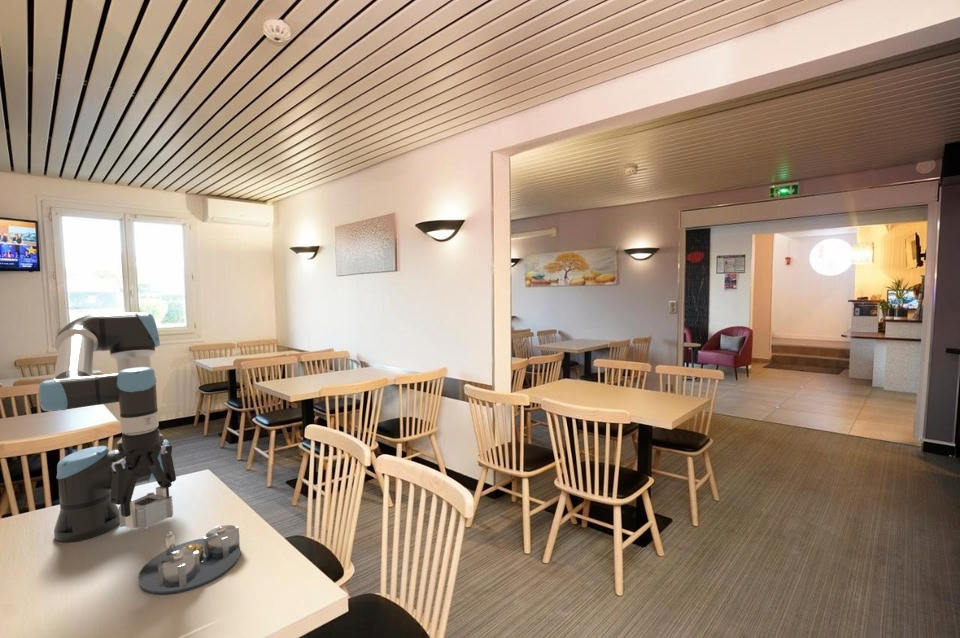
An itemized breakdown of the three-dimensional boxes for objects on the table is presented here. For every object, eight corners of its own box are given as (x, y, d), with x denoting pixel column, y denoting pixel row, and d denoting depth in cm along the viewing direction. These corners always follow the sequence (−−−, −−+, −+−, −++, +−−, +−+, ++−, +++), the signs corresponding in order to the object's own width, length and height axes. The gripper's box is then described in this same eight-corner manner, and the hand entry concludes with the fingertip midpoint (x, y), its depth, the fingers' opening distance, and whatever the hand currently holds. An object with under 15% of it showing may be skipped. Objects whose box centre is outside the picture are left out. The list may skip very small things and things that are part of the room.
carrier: (134, 564, 118) (131, 535, 117) (228, 532, 133) (227, 506, 132) (144, 608, 102) (142, 575, 101) (251, 566, 116) (249, 537, 116)
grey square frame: (117, 526, 112) (116, 506, 112) (153, 510, 120) (151, 491, 120) (141, 532, 109) (139, 512, 109) (176, 515, 117) (174, 496, 117)
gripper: (105, 445, 102) (113, 543, 104) (189, 420, 121) (194, 503, 123) (84, 442, 105) (92, 537, 107) (169, 417, 124) (175, 499, 125)
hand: (147, 519), depth 115 cm, fingers closed on grey square frame, 7 cm apart
